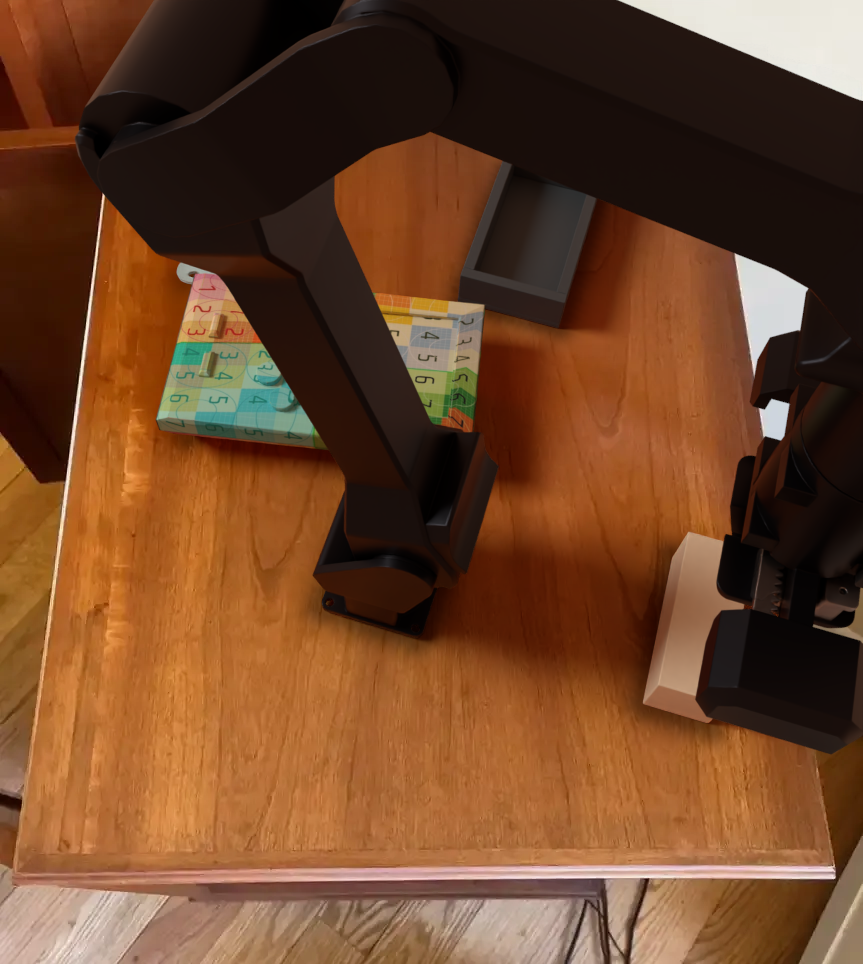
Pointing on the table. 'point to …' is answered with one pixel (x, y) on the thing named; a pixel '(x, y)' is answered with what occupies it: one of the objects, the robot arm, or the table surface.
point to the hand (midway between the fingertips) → (745, 594)
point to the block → (686, 626)
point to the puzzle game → (264, 392)
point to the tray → (527, 247)
